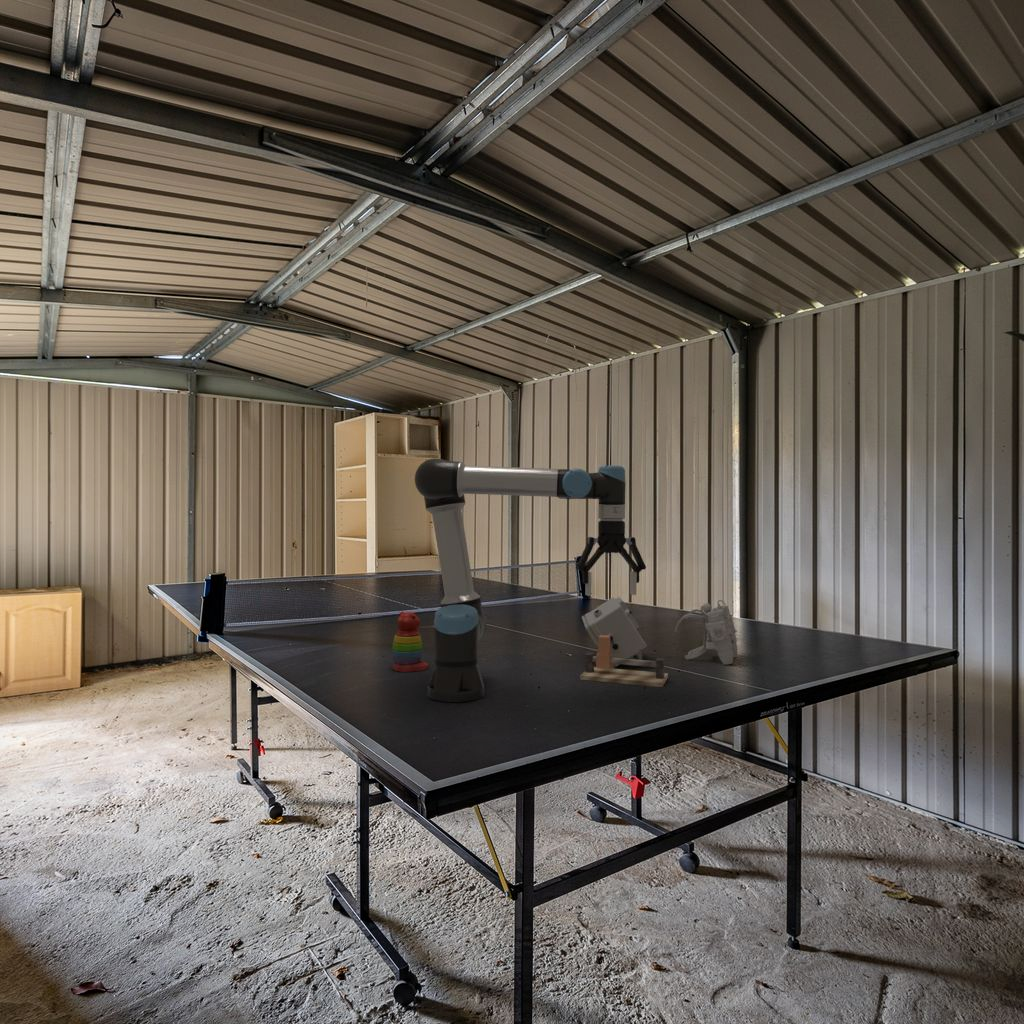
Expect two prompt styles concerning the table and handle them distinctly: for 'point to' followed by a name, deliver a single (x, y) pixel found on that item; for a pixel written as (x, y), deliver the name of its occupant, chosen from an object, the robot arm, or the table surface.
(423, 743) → the table surface
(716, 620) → the twin engine backpack
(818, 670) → the table surface
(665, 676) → the rail board
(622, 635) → the junction box
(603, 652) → the brown stepped block
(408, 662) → the red rounded piece
